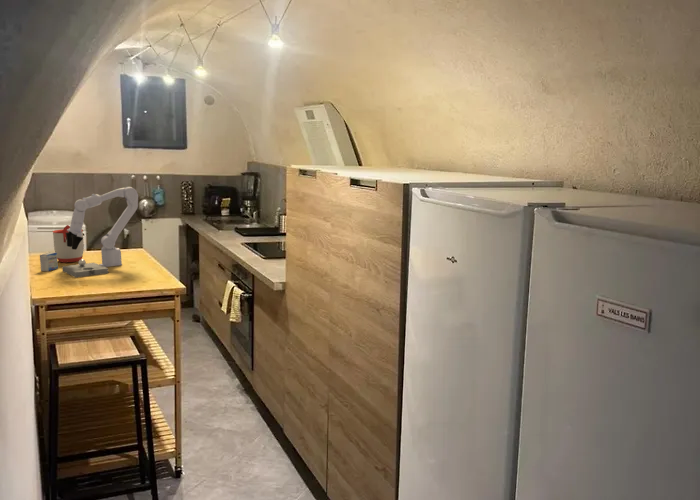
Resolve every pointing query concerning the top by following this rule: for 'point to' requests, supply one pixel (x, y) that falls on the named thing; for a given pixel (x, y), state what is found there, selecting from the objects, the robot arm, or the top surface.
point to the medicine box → (48, 261)
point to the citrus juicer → (66, 247)
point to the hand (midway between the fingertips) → (71, 247)
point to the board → (85, 270)
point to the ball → (82, 262)
